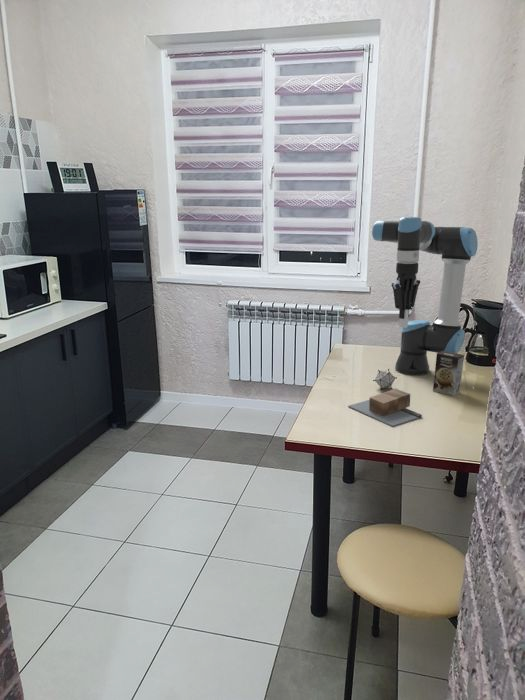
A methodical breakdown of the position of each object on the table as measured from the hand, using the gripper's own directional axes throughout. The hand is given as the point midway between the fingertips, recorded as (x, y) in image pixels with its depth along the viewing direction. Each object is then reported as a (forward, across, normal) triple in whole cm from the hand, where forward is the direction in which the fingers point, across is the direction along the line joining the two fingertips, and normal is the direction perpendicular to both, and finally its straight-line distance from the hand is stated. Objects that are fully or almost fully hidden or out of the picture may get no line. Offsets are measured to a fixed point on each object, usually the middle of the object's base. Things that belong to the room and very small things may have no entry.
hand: (403, 326), depth 189 cm
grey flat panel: (+30, -11, -3) cm, 32 cm away
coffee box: (+31, +26, -2) cm, 41 cm away
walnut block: (+27, -1, -3) cm, 27 cm away
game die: (+31, +8, +15) cm, 35 cm away
